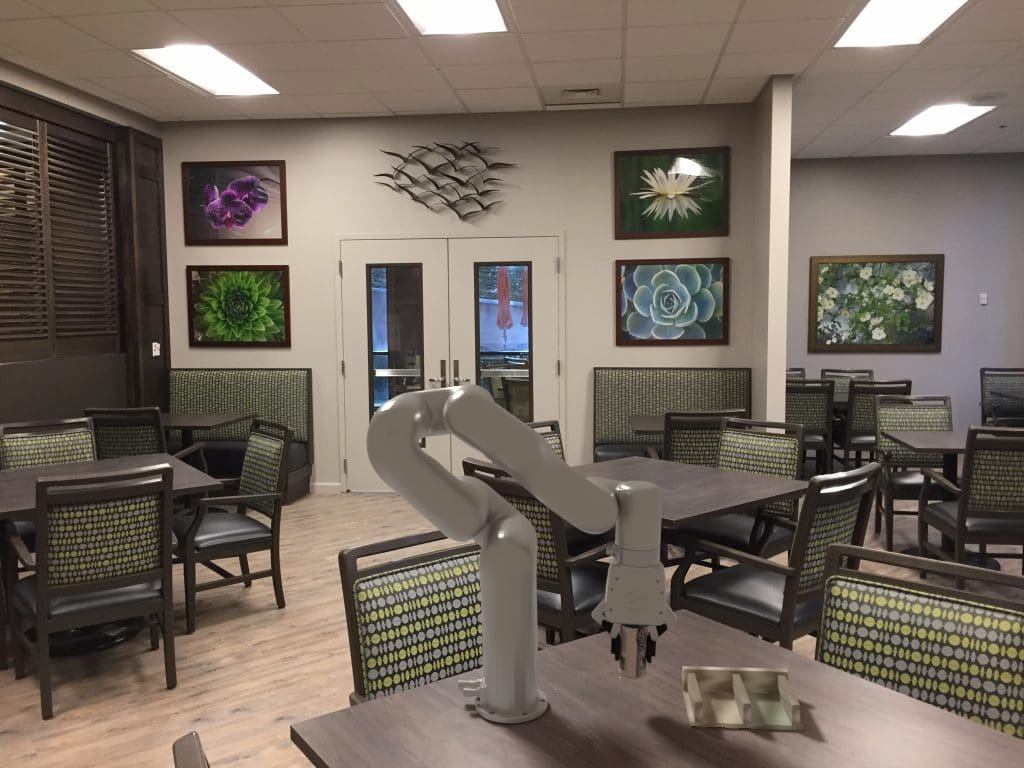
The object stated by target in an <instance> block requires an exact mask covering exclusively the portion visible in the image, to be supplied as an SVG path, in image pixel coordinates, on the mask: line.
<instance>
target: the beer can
mask: <svg viewBox="0 0 1024 768" xmlns="http://www.w3.org/2000/svg"><path fill="white" fill-rule="evenodd" d="M648 632H649V626H646V625H629V624H621V626H620V629H619V633H620V654H619V660H618V669H617V671H618V673H619V674H620V675H621V676H623V677H624V678H626V679H629V680H630V679H631V680H637V679H641V678H642V677H644V676H646V675H647V671H646V670H647V659H646V654H647V635H648Z"/></svg>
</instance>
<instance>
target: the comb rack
mask: <svg viewBox="0 0 1024 768" xmlns="http://www.w3.org/2000/svg"><path fill="white" fill-rule="evenodd" d="M681 668H682V679H681V680H682V688H681V690H682V696H683V699H684V700H685V701H684V705H685V704H686V705H685V709H686V708H687V709H686V713H687V717H689V718H688V721H690V722H689V725H691V726H697V727H696V728H708V727H722V728H721V729H739V728H749V729H748V730H770V729H771V730H774V731H775V730H777V731H801V732H802V731H805V725H804V723H803V721H802V719H801V704H800V702H799V700H798V699H797V696H796V694H795V693H794V691H793V689H792V686H791V685H790V683H789V670H788V669H787V668H774V667H773V668H771V667H770V668H769V667H735V666H732V667H731V666H727V667H726V666H700V665H699V666H696V665H695V666H694V665H693V666H692V665H691V666H690V665H689V666H688V665H682V667H681ZM691 726H690V727H691ZM699 726H700V727H699ZM723 727H725V728H723ZM750 728H751V729H750Z"/></svg>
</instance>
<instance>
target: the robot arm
mask: <svg viewBox="0 0 1024 768" xmlns="http://www.w3.org/2000/svg"><path fill="white" fill-rule="evenodd" d="M445 435H452V436H454V437H456V438H457V439H458V440H459V441H461V442H462V443H464V444H465V445H467V446H468V447H470V449H473V450H474V451H476V452H477V453H478V454H480V455H481V456H483V457H484V458H486V459H487V460H488V461H490V462H491V463H493V464H494V465H495V466H497V467H499V468H500V469H501V470H503V471H505V472H506V473H507V474H508V475H510V477H512V478H513V479H514V480H515V481H516V482H517V483H518V484H519V485H521V487H523V488H524V489H525V490H527V491H528V492H529V494H531V495H532V496H534V497H535V498H536V499H537V500H538V501H540V502H541V503H542V504H543V505H544V506H545V507H547V508H548V509H549V510H551V512H553V513H555V514H556V515H558V516H559V517H560V518H562V519H564V520H565V521H566V522H567V523H570V524H571V525H572V526H574V527H575V528H577V529H578V530H580V531H582V532H584V533H587V534H591V535H599V534H604V533H607V532H608V531H610V530H611V529H612V528H613V527H614V526H615V536H614V537H615V540H614V544H613V543H612V545H611V546H606V547H605V548H606V552H605V554H606V555H609V556H612V557H613V558H612V559H611V560H610V563H609V567H608V571H607V578H606V583H605V595H604V598H603V599H602V600H600V602H599V603H598V605H596V607H595V608H594V609H593V611H591V618H592V619H593V620H594V621H595V622H597V623H598V624H599V625H600V626H601V627H602V628H603V629H604V630H605V631H606V633H608V634H609V635H610V641H611V642H610V654H611V655H614V661H615V662H619V654H620V626H621V624H629V625H646V626H648V632H647V654H646V663H648V664H652V660H653V658H652V657H656V650H657V649H656V648H657V641H658V640H659V638H660V637H661V636H662V635H663V634H664V633H665V632H667V631H668V629H671V628H672V627H674V626H675V625H676V624H678V622H679V618H678V616H677V615H676V614H675V613H674V611H673V609H672V608H671V607H670V605H669V604H668V603H667V580H666V579H667V578H666V571H665V565H664V564H663V563H662V561H660V560H661V557H660V556H661V555H660V554H661V536H662V535H661V533H662V515H663V514H662V512H663V491H662V489H661V487H660V485H658V484H656V483H655V482H654V483H653V482H652V481H646V480H628V481H624V480H623V481H622V480H618V479H617V480H615V479H611V478H605V477H600V476H587V477H585V476H583V475H582V474H581V473H579V472H577V471H576V469H574V468H573V467H571V466H570V465H569V464H568V463H566V461H564V460H563V459H562V458H561V457H560V456H559V454H557V452H556V451H555V450H554V449H553V448H552V446H551V444H550V443H549V442H548V441H547V440H546V439H545V437H544V436H543V435H542V434H541V433H540V432H538V431H537V430H535V429H534V428H532V427H531V426H529V425H528V424H526V423H525V422H523V421H522V420H520V419H519V418H517V417H516V416H515V415H514V414H512V413H511V412H509V411H508V410H506V409H505V408H504V407H502V406H501V405H499V404H498V403H496V402H495V399H494V398H493V396H492V394H491V393H490V391H488V390H487V389H486V388H484V387H483V386H480V385H477V384H464V385H463V384H462V385H457V386H456V385H455V386H450V387H449V386H448V387H444V388H443V387H441V388H435V389H425V390H421V391H420V390H417V391H411V392H410V391H409V392H404V393H400V394H399V395H396V396H394V397H393V398H392V399H389V400H387V401H386V402H384V403H383V404H382V405H381V406H379V408H378V409H376V411H375V413H373V416H372V417H371V419H370V421H369V426H368V429H367V433H366V452H367V456H368V457H367V458H368V460H369V463H370V465H371V467H372V468H373V470H374V472H375V474H377V475H378V477H379V478H380V479H381V480H382V481H383V482H384V483H385V484H386V485H387V486H388V487H389V488H390V489H392V491H394V492H395V493H396V494H397V495H399V497H401V498H402V499H403V500H404V501H406V502H407V503H408V504H409V505H410V506H411V507H412V508H413V509H415V511H417V512H418V513H419V514H420V515H421V516H422V517H423V518H424V519H426V520H427V521H428V522H429V523H431V524H432V525H433V526H434V527H435V528H436V529H437V530H438V531H440V533H442V534H443V535H444V536H445V537H446V538H448V539H450V540H452V541H455V542H458V543H459V542H460V543H462V542H463V543H464V542H467V541H471V540H472V541H474V542H475V543H477V545H479V547H481V548H480V552H479V556H478V557H479V559H478V573H479V584H480V603H481V604H480V606H481V611H480V612H481V634H482V635H481V636H482V637H481V639H482V677H481V678H480V677H478V678H477V679H476V680H474V679H473V680H472V679H463V678H462V679H458V692H462V696H463V697H465V698H466V697H475V698H474V708H475V711H476V712H477V714H478V715H480V717H482V718H484V719H486V720H488V721H491V722H495V723H500V724H519V723H526V722H530V721H532V720H535V719H537V718H539V717H540V716H542V715H543V714H544V713H545V712H546V711H547V709H548V697H547V694H546V693H545V692H544V691H543V690H541V689H540V688H539V650H538V649H539V646H538V645H539V643H538V642H539V641H538V602H537V601H538V597H537V595H538V594H537V573H538V572H537V569H538V567H537V564H538V562H537V561H538V559H537V557H538V554H537V553H538V537H537V533H536V530H535V527H534V526H533V524H532V523H531V521H529V519H528V518H527V517H525V515H523V514H522V513H521V512H520V511H519V510H518V509H516V508H515V506H513V505H512V504H511V503H510V502H508V501H507V500H506V498H503V496H501V494H499V493H498V492H497V491H495V490H494V489H493V488H492V487H491V486H490V485H488V484H487V483H486V482H484V481H483V480H481V479H479V478H477V477H475V476H470V475H460V476H455V474H453V473H451V472H450V471H449V470H448V469H447V468H445V467H444V465H442V464H441V463H440V462H439V461H438V460H436V459H435V458H434V457H432V456H430V455H429V454H428V453H426V452H425V451H424V450H423V449H422V448H421V446H420V444H419V442H420V440H421V438H429V437H437V436H438V437H439V436H445ZM603 614H604V615H603Z"/></svg>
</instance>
